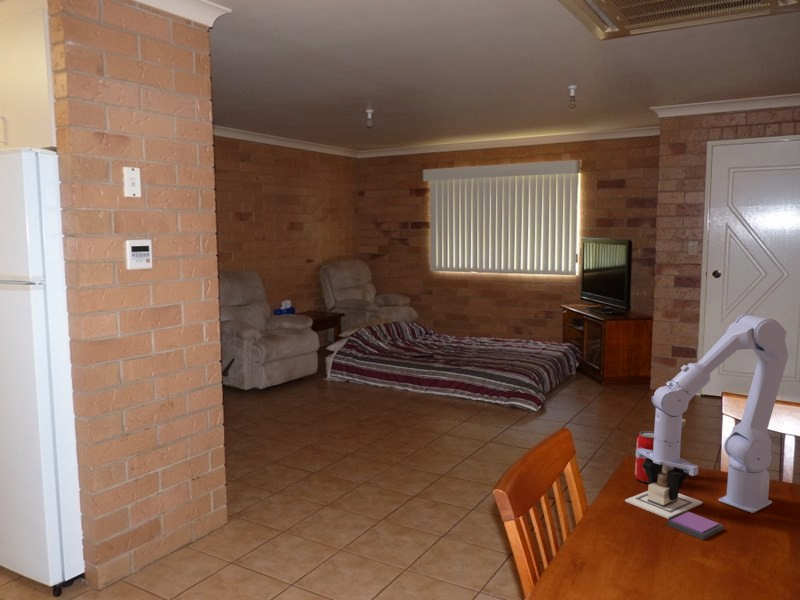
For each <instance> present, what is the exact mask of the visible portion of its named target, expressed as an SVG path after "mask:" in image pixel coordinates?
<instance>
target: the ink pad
mask: <svg viewBox="0 0 800 600" xmlns="http://www.w3.org/2000/svg"><path fill="white" fill-rule="evenodd" d="M666 522H667V523H666V526H668V527H671V528H672V529H675V530H677V531H680V532H682V533H685V534H687V535H690V536H692V537H694V538H697V539H700V540H701V541H704V540H706V539H709V538H710V537H712V536H714V535H716V534H717V533H719V532H721V531H723V530H724V525H723V524H721V523H719V522H716V521H713V520H711V519H708V518H707V517H704V516H701V515H698V514H696V513H693V512H690V511H689V510H687V511H685V512H683V513H680V514H678V515H676V516H674V517H672V518H669V519H668V520H667V521H666Z"/></svg>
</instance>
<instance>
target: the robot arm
mask: <svg viewBox="0 0 800 600" xmlns="http://www.w3.org/2000/svg"><path fill="white" fill-rule="evenodd" d="M787 333H788V332H787V330H786V329H785V328H784V326H782V324H781V323H780V322H779V321H777V320H776V319H773V318H766V317H763V316H758V315H756V314H754V313H743V314H741V315H740V316H738V317H737V318H736V320H735V321H734V322H732V323H731V324H729V326H728V328H727V329H726V331H725V333H724V334H723V335H722V336H721V337H720V339H718V341H716V343H715V344H713V346H712V347H711V348H710V349H709V350H708V351H707V353H705V355H703V356H702V357H701V359H699V361H698V362H688V364H687V365H686V364H683V365H682V366H681V367H680V369H681V370H680V372H678V373H677V374H676V375H675V376H674V377H673V378H672V379H671V380H670V381H669V380H668V381H667V382H666V383H665V384H666V385H663V386H660V387H658V388H657V389H656V390H655V392H654V393H653V394H654V395H652V396H651V402H652V404H653V406H654V407H655V417H654V429H653V432H654V447H653V450H648V449H644V448H639V449H636V448H635V458H636V457H638V458H644V459H646V461H645V462H644V463H642V466H643V468H644V470H645V472H646V474H647V476H648V479H649V483H648V484H649V485H650V484H652V483H655V482H657V478H658V473H662V471H661V470H662V468H663V467H662V466H663V465H665V466H668V467H671V468H673V470H670V471H668V477H669V485H670V488H669V499H670V500H674V499H677V496H678V493H680V490H681V487H682V485H683V483H685V482H684V481H685V480H686V479H687V478H688V476H691V477H694V476H697V475H698V474H699V465H697V464H693V463H692V462H689V461H688V460H686V459H684V458H681V457H680V456H681V439H682V428H683V427H682V418H683V414H684V413H686V412H687V410H688V408H689V402H690V401H691V399H692V398H694V397H695V396H696V395H697V394H698V392H700V391H701V390H702V389H703V388H704V387H705V386H706V385H707V384H709V382H711V381H710V380H711V373H712V372H714V370H716V369H717V368H718V367H719V366H721V365H722V364H723V363H725V362H726V361H727V360H728V359H729V358H730V357H731V356H732V355H733V354H735V353H736V352H737V351H740V350H753V352H754V353H755V354H756V356H757V358H758V359H757V363H756V367H755V371H754V374H753V378H752V382H751V386H750V388H749V392H748V395H747V399H746V402H745V405H744V410H743V413H742V417H741V419H740V420H741V421H740V422H739V423H737V424H736V425H734V426H733V427H732V431H731V433H730V434H729V436H728V437H726V439H725V441H724V446H723V448H724V451H725V453H726V454H727V456H728V469H727V470H728V472H727V484H726V495H724V496H722V497H719V498H718V501H719V502H721V503H723V504H726V505H729V506H731V507H734V508H737V509H740V510H743V511H746V512H749V513H751V514H754V513H756V512H757V511H760V510H761V509H763V508H766V507H767V506H770V505H771V504H772V503H773V501H772V500H770V499H769V491H770V490H769V489H770V479H771V478H770V473H769V471H768V467H770V465H771V463H772V458H773V457H772V451H771V449H772V447H771V446H772V444H773V443H772V439H771V437H770V435H769V433H768V429H769V425H770V422H771V418H772V415H773V412H774V408H775V404H776V401H777V396H778V395H779V390H780V386H781V383H782V380H783V376H784V373H785V369H786V365H787V362H788V359H789V358H788V357H789V354H788V353H789V352H788V347H787V344H786V336H787Z"/></svg>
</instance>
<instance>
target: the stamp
mask: <svg viewBox="0 0 800 600" xmlns="http://www.w3.org/2000/svg"><path fill="white" fill-rule="evenodd" d="M669 488H670V485H669V477H668V474H667V473H662V472H661V473H658V478H657V482H655V483H652V484H650V483H649V484H648V488H647V489H648V490H647V491H648V502H650V503H653V504H655V505H658V506H661V507H663V508H664V507H666V506H668V505H670V504H672V503H675V502H677V501H678V496H677V499H674V500H670V499H669Z"/></svg>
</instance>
